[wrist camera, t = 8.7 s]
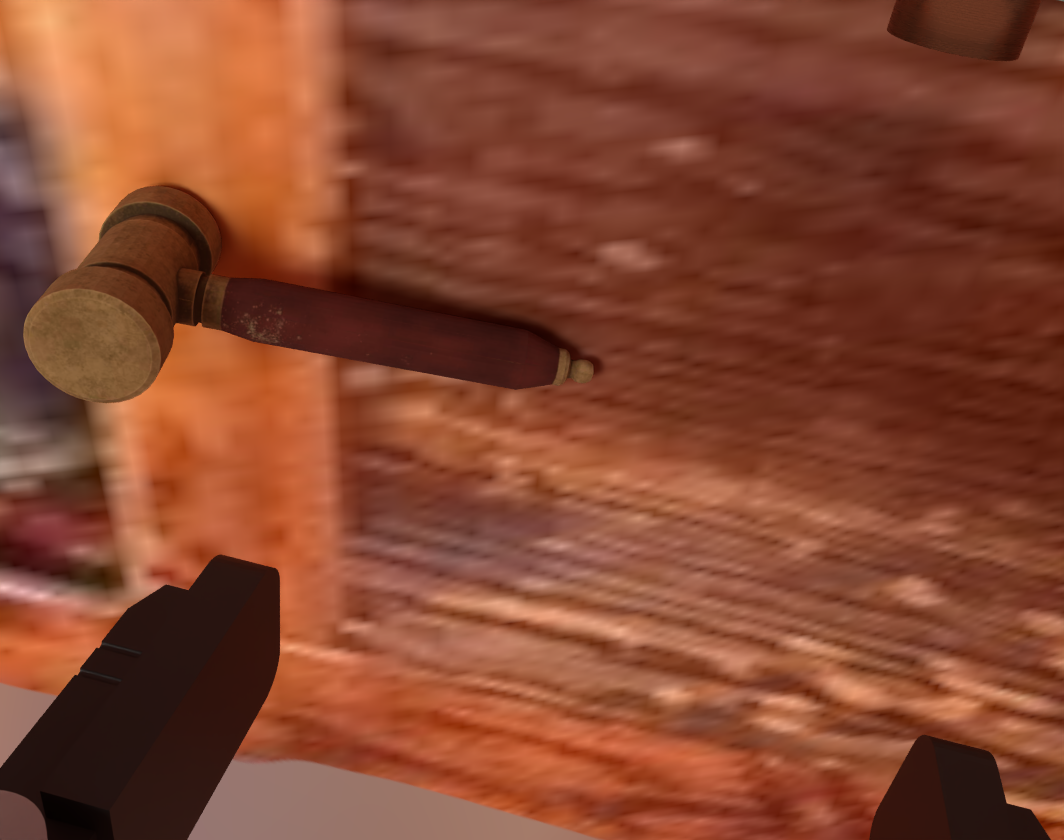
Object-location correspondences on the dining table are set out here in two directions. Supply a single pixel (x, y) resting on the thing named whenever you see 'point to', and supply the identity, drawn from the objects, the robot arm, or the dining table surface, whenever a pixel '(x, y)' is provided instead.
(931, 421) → the dining table surface
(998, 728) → the dining table surface
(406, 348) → the gavel
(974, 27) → the rod
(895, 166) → the dining table surface
